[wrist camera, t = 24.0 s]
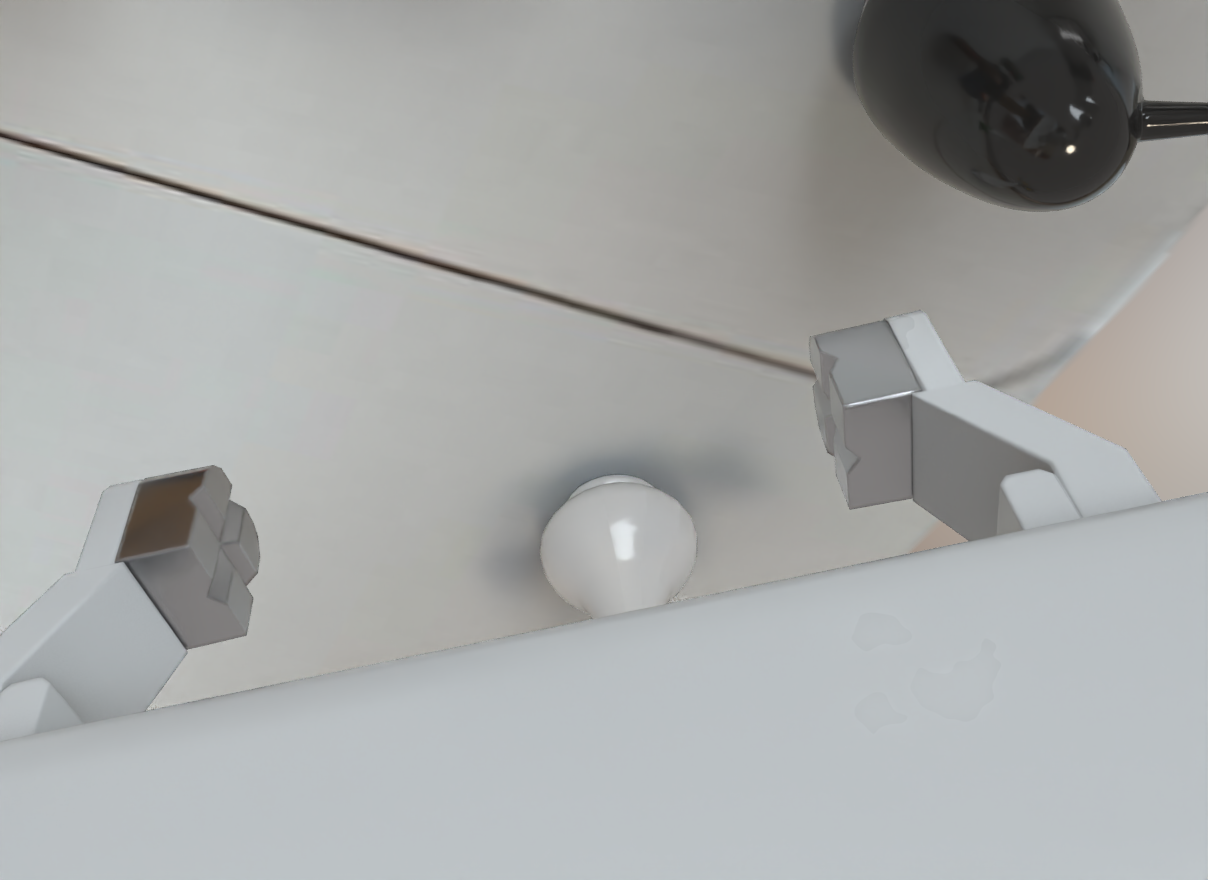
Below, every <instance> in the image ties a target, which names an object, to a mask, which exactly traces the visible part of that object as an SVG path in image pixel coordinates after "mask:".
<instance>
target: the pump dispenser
mask: <svg viewBox="0 0 1208 880" xmlns="http://www.w3.org/2000/svg"><path fill="white" fill-rule="evenodd" d="M853 74H854V81H855V86H856V90H857V93H858V96H859V99H860V101H861V103H862V105H863V107H864V109H865V111H866V113H867V115H868V116H869V118H870V119H871V121H872V122H873V124H874V125H875V126H876V128H877V129H878V130H879V131H880V133H881V134H882V135H883V136H884V137H885V138H886V139H887V140H888V141H889V142H890V143H891V144H892V145H893V146H894V147H895V148H896V149H897V150H899V151H900V152H901V153H902V154H903V155H904V156H905V157H907V158H908V159H909V160H910V161H911V162H913V163H914V164H915V165H917V166H918V167H919V168H921V169H922V170H924V171H925V172H926V173H928V174H930V175H931V176H933V177H934V178H936V179H938V180H939V181H941V182H943V183H945V184H947V185H949V186H951V187H953V188H955V189H957V190H959V191H961V192H963V193H965V194H967V195H970V196H972V197H974V198H977V199H979V200H982V201H984V202H987V203H990V204H993V205H997V206H1000V207H1004V208H1009V209H1013V210H1019V211H1028V212H1050V211H1059V210H1065V209H1069V208H1073V207H1076V206H1079V205H1082V204H1084V203H1086V202H1089V201H1091V200H1092V199H1094V198H1096V197H1098V196H1099V195H1101V194H1102V193H1103V192H1105V191H1106V190H1107V189H1109V188H1110V187H1111V186H1112V185H1113V184H1114V183H1115V182H1116V181H1117V179H1118V178H1119V177H1120V176H1121V174H1122V173H1123V171H1124V170H1125V168H1126V166H1127V165H1128V163H1129V161H1130V159H1131V157H1132V155H1133V153H1134V150H1135V148H1136V145H1137V143H1138V142H1144V141H1153V140H1162V139H1171V138H1181V137H1191V136H1200V135H1208V103H1205V102H1172V101H1147V100H1144V98H1143V86H1142V72H1141V66H1140V61H1139V56H1138V52H1137V48H1136V45H1135V41H1134V38H1133V35H1132V32H1131V29H1130V27H1129V24H1128V22H1127V19H1126V17H1125V15H1124V12H1123V10H1122V8H1121V6H1120V4H1119V2H1118V0H866V2H865V5H864V7H863V11H862V14H861V17H860V21H859V25H858V28H857V32H856V36H855V41H854V48H853Z"/></svg>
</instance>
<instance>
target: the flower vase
mask: <svg viewBox="0 0 1208 880" xmlns="http://www.w3.org/2000/svg"><path fill="white" fill-rule="evenodd" d="M540 557H541V563H542V568H543V571H544V573H545V575H546V577H547V579H548V581H549V582H550V584H551V586H552V587H553V589H554V591H555V592H556V593H557V594H558V595H559V596H560V597H561V598H563V599H564V600H565V601H566V602H567V603H568V604H570V605H571V606H572V607H574V608H575V609H578V610H580V611H582V612H584V613H586V614H588V615H590V617H591V618H592V619H595V618H600V617H604V616H609V615H614V614H619V613H624V612H629V611H633V610H638V609H643V608H648V607H653V606H658V605H663V604H667V603H668V602H669V601H670V600H671V599H672V598H674V597H675V596H676V595H677V594H678V593H679V591H680V590H681V589H682V587H683V586H684V584H685V583H686V582H687V580H688V579H689V577H690V575H691V573H692V570H693V567H694V564H695V561H696V557H697V531H696V528H695V526H694V523H693V521H692V519H691V516H690V514H689V513H688V512H687V511H686V509H685V508H684V507H683V506H682V505H681V504H680V503H679V502H678V501H677V500H676V499H675V498H673V497H671V496H669V495H668V494H666V493H664V492H663V491H661V490H659V489H657V488H654V487H653V486H652V485H651V484H649V483H648V482H646V481H644V480H642V479H640V478H637V477H633V476H630V475H617V474H616V475H608V476H602V477H599V478H596V479H593V480H590V481H588V482H587V483H585V484H583V485H581V486H580V487H579V488H578V489H576V490H575V491H574V492H573V493H572V494H571V496H570V497H569V499H568V500H567V502H566V503H565V504H564V505H562V506H561V507H560V508H559V509H558V510H557V511H556V512H555V513H554V515H553V516H552V518H551V519H550V521H549V523H548V524H547V526H546V528H545V529H544V532H543V535H542V540H541V545H540Z"/></svg>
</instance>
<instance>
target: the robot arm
mask: <svg viewBox="0 0 1208 880" xmlns="http://www.w3.org/2000/svg"><path fill="white" fill-rule="evenodd" d="M809 349H810V361H811V364H812V366H813V369H814V371H815V374H816V376H817V381H816V382H815V384H814V385H813V394H814V403H815V410H816V415H817V420H818V426H819V429H820V432H821V436H822V439H823V442H824V445H825V447H826V450H827V453H829V454H831V455H832V456H834V457H835V468H836V476H837V479H838V481H839V484H840V486H841V489H842V492H843V494H844V497H845V499H846V502H847V504H848V507H849V509H850V510H851V509H856V508H862V507H867V506H873V505H878V504H884V503H889V502H895V501H900V500H906V499H911V498H913V501H914V502H915V503H917V504H918V505H920V506H921V507H922V508H924V509H925V510H927V511H928V512H929V513H931V514H932V515H933V516H935V517H936V518H938V519H939V520H940V521H942V522H943V523H945V524H946V525H947V526H949V527H950V528H952V529H953V530H955V531H956V532H957V533H959V534H960V535H961V536H963V537H964V538H966V539H967V540H968V542H963V543H958V544H953V545H948V546H944V547H939V548H934V549H929V550H925V551H920V552H914V553H910V554H905V555H900V556H895V557H890V558H885V559H880V560H876V561H871V562H866V563H861V564H856V565H852V566H847V567H842V568H837V569H832V570H827V571H823V572H818V573H813V574H808V575H803V576H798V577H794V578H789V579H784V580H779V581H774V582H769V583H764V584H760V585H755V586H750V587H745V588H740V589H735V590H730V591H726V592H721V593H716V594H711V595H706V596H701V597H697V598H692V599H687V600H682V601H677V602H672V603H667V604H663V605H658V606H653V607H648V608H643V609H638V610H633V611H629V612H624V613H619V614H614V615H609V616H604V617H600V618H595V619H590V620H585V621H580V622H575V623H571V624H566V625H561V626H556V627H551V628H547V629H542V630H537V631H532V632H527V633H522V634H518V635H513V636H508V637H503V638H498V639H493V640H488V641H484V642H479V643H474V644H469V645H464V646H459V647H454V648H450V649H445V650H440V651H435V652H430V653H425V654H420V655H416V656H411V657H406V658H401V659H396V660H391V661H386V662H382V663H377V664H372V665H367V666H362V667H357V668H352V669H348V670H343V671H338V672H333V673H328V674H323V675H319V676H314V677H309V678H304V679H299V680H294V681H289V682H285V683H280V684H275V685H270V686H265V687H260V688H255V689H251V690H246V691H241V692H236V693H231V694H226V695H221V696H217V697H212V698H207V699H202V700H197V701H192V702H187V703H183V704H178V705H173V706H168V707H163V708H158V709H153V710H149V711H146V710H147V708H148V707H149V706H150V704H151V703H152V701H153V700H154V699H155V697H156V696H157V694H158V693H159V692H160V690H161V689H162V688H163V686H164V685H165V683H166V682H167V681H168V679H169V678H170V677H171V675H172V674H173V672H174V671H175V670H176V668H177V667H178V666H179V664H180V663H181V661H182V660H183V659H184V657H185V656H186V655H187V653H188V652H187V650H188V649H192V648H196V647H200V646H204V645H209V644H213V643H217V642H221V641H226V640H230V639H234V638H238V637H242V636H247V631H248V625H249V620H250V614H251V609H252V603H253V597H252V595H251V593H250V592H249V590H248V588H247V587H246V586H247V585H248V584H249V582H250V581H251V580H252V579H253V578H254V577H255V576H256V574H257V573H258V568H259V561H260V551H259V541H258V535H257V532H256V529H255V526H254V523H253V521H252V519H251V517H250V515H249V514H248V512H247V510H246V508H244V507H242V506H240V505H238V504H237V503H235V502H233V501H231V500H229V499H230V494H231V489H232V484H231V483H230V481H229V479H228V478H227V476H226V475H225V473H224V472H223V470H222V468H220V467H217V466H214V465H211V466H206V467H201V468H196V469H191V470H186V471H180V472H175V473H170V474H165V475H160V476H154V477H149V478H145V479H144V480H136V481H131V482H126V483H121V484H116V485H111V486H109V487H108V488H107V489H106V490H104V491H103V492H102V494H101V497H100V500H99V503H98V506H97V509H96V512H95V515H94V518H93V520H92V523H91V526H90V529H89V532H88V535H87V538H86V541H85V544H84V547H83V549H82V552H81V555H80V558H79V561H78V564H77V567H76V570H75V572H73V573H68V574H64V575H63V576H62V577H61V578H60V579H59V580H58V581H57V582H56V583H55V584H54V585H53V586H51V587H50V588H49V589H48V590H47V591H46V592H45V593H44V594H43V595H42V596H41V597H40V598H39V599H38V600H37V601H35V602H34V603H33V604H32V605H31V606H30V607H29V608H28V609H27V610H26V611H25V612H24V613H23V614H22V615H21V616H20V617H18V618H17V619H16V620H15V621H14V622H13V623H12V624H11V625H10V626H9V627H8V628H7V629H6V630H5V631H4V632H3V633H1V634H0V880H1208V492H1206V493H1201V494H1195V495H1191V496H1186V497H1181V498H1176V499H1171V500H1167V501H1161V499H1160V498H1159V496H1158V495H1157V493H1156V492H1155V491H1154V489H1153V487H1152V486H1151V485H1150V483H1149V482H1148V480H1147V479H1146V477H1145V476H1144V474H1143V473H1142V471H1141V470H1140V468H1139V467H1138V466H1137V464H1136V463H1135V461H1134V460H1133V458H1132V457H1131V455H1130V454H1129V453H1128V451H1127V450H1126V449H1125V448H1123V447H1121V446H1119V445H1117V444H1114V443H1112V442H1110V441H1108V440H1106V439H1103V438H1101V437H1099V436H1097V435H1095V434H1093V433H1090V432H1088V431H1086V430H1084V429H1082V428H1080V427H1077V426H1075V425H1073V424H1071V423H1069V422H1066V421H1064V420H1062V419H1060V418H1057V417H1055V416H1053V415H1051V414H1049V413H1047V412H1044V411H1042V410H1040V409H1038V408H1036V407H1034V406H1031V405H1029V404H1027V403H1025V402H1023V401H1021V400H1018V399H1016V398H1014V397H1012V396H1010V395H1007V394H1005V393H1003V392H1001V391H999V390H996V389H994V388H992V387H990V386H988V385H986V384H983V383H981V382H979V381H977V380H974V381H969V382H965V381H964V379H963V377H962V375H961V374H960V372H959V370H958V368H957V367H956V365H955V363H954V361H953V360H952V358H951V356H950V354H949V353H948V351H947V349H946V348H945V346H944V344H943V342H942V341H941V339H940V337H939V335H938V334H937V332H936V330H935V328H934V327H933V325H932V323H931V321H930V320H929V318H928V316H927V314H926V313H925V312H923V311H921V310H918V311H914V312H910V313H906V314H901V315H897V316H893V317H889V318H885V319H884V320H882V321H877V322H872V323H868V324H863V325H859V326H854V327H850V328H845V329H841V330H836V331H832V332H827V333H823V334H818V335H814V336H810V342H809Z"/></svg>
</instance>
